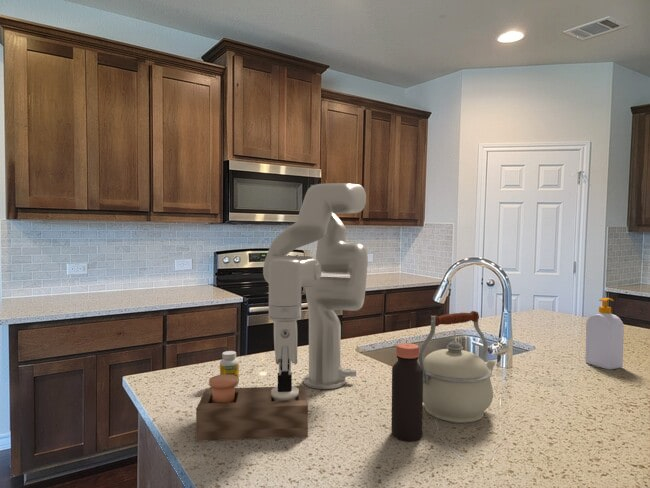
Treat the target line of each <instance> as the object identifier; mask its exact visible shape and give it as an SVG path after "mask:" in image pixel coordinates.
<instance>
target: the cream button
mask: <svg viewBox="0 0 650 488" xmlns="http://www.w3.org/2000/svg"><path fill="white" fill-rule="evenodd" d="M294 386H295V385H292V391H291V392H278V385H277V386H274V387H275V388H273V389H272V390H271V396H272V397H273V398H274V401H296V397H298V395H299V389H298V388H297V387H294Z"/></svg>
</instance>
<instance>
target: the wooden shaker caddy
mask: <svg viewBox="0 0 650 488" xmlns="http://www.w3.org/2000/svg"><path fill="white" fill-rule="evenodd" d="M293 386H294V387H297V388H298V389H299V395H298V397H296V401H274V398H273V397H272V396H271V390H272V389H273V388H275V387H276V386H262V387H261V386H255V387H235V403H212V388H205V390H204V392H203V394H202V397H201V398H200V400H199V402H198V404H197V407H196V409H195V415H196V416H195V421H196V423H195V426H196V427H195V434H196V435H195V436H196V437H195V438H196V439H195V440H196V442H209V441H210V442H211V441H212V442H213V441H231V440H234V441H235V440H239V441H240V440H258V439H259V440H260V439H262V440H264V439H280V438H283V439H285V438H286V439H287V438H303V437H304V438H308V437H309V413H308V412H309V404H308V403H309V402H308V397H307V396H308V395H307V391H306V385H293Z"/></svg>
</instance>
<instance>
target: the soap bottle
mask: <svg viewBox="0 0 650 488" xmlns="http://www.w3.org/2000/svg"><path fill="white" fill-rule="evenodd" d="M598 301H599V302H602V305H601V306H598V313H597V314H593V315H590V316H588V318H587V320H586V322H585V324H586V325H585V357H584V359H585V361H584V362H585V363H586V364H589V365H592V366H594V367H598V368H599V367H600V368H602V369H605V370H609V371H611V370H615V369H621V368H623V366H624V365H623V364H624V330H625V327H624V326H625V325H624V322H623V321H622V320H621V318H620V317H619V316H618V315H616V314H613V313H612V307H611V306H608V301H611V302H612V301H615V300H614V299H613V298H610V297H602V298H600V299H599V300H598Z"/></svg>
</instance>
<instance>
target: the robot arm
mask: <svg viewBox="0 0 650 488" xmlns="http://www.w3.org/2000/svg"><path fill="white" fill-rule="evenodd" d="M366 204H367V194H366V190H365V188H364V187H363V185H361V184H359V183H358V184H356V183H347V182H346V183H343V182H340V183H339V182H335V183H334V182H332V183H317V184H313V185H311V186H310V187H309V188H308V189H307V191H306V193H305V195H304V198H303V201H302V205H301V206H300V209H299V213H298V216H297V218H296V222H294V223H293V224H291V225H289V226H288V227H287V228H285V229H284V230H283V231H281V233H279V234H278V235H277V236H276V237H275V238H274V239H273V241H272V242H271V244H270V245H269V248H268V250H267V254H266V256H265V260H264V263H263V269H262V273H263V277H264V278H263V279H264V280H265V282H267V283H268V319H269V320H270V321H273V345H274V358H275V364H276V365H278V372H277V386H278V392H291V391H292V386H293V382H292V381H293V380H292V379H293V378H292V377H293V373H292V372H291V371H292V368H291V367H292V364H294V365H297V364H298V320H301V319H302V288H305V296H306V297H305V299H306V303H307V311H308V374H306V375H305V376H304V377H303V384H304V386H306V387H309V388H312V389H317V390H332V389H337V388H340V387H342V386H344V385H345V384H346V378H347V377H349V378H350V377H351V378H352V377H356V378H357V370H356V369H351V367H349V368H343V367H342V364H341V353H342V351H341V346H342V345H341V342H342V340H341V338H342V337H341V336H342V335H341V334H342V333H341V332H342V325H341V321H340V318H339V317H338V314H336V312H335V311H338V310H339V311H349V312H350V311H353V312H354V311H355V312H356V311H359V310H361V309H362V308H363V306H364V303H365V297H366V288H367V287H366V286H367V274H368V264H369V263H368V261H369V260H368V253H367V248H366V247H365V246H364V245H363V244H361V243H357V242H355V243H354V242H346V238H347V237H346V235H347V230H346V229H347V227H346V226H345V225H344V223H343V221H342V220H341V219H340V218H339V216H337V214H358V213H361V212H362V211H363V210H364V209H365V206H366ZM316 241H317V243H316V244H317V245H316V250H315V251H316V252H315V257H313V256H306V255H300V256H299V255H288V254H291V252H293V251H294V250H296V249H298V248H301V247H304V246H308V245H309V244H312V243H314V242H316ZM322 274H328V275H330V274H331V275H348V276H350V277H337V276H322Z"/></svg>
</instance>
